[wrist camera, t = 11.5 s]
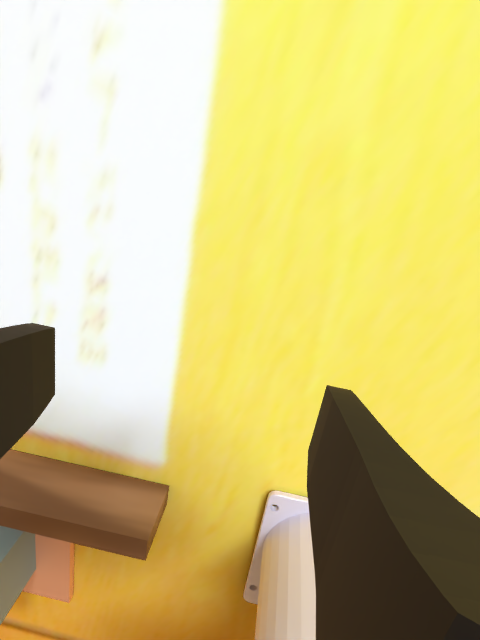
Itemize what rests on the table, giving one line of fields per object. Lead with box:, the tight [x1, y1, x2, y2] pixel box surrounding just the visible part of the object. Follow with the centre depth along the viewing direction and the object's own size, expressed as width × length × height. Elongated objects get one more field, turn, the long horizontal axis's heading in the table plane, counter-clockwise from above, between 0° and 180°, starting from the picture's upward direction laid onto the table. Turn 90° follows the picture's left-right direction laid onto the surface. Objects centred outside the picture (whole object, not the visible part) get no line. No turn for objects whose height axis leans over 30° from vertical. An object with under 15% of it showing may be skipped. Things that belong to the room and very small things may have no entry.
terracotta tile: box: [22, 534, 74, 603], centre depth 29 cm, size 10×10×1 cm
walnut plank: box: [0, 449, 169, 560], centre depth 25 cm, size 2×18×4 cm, turn 81°
